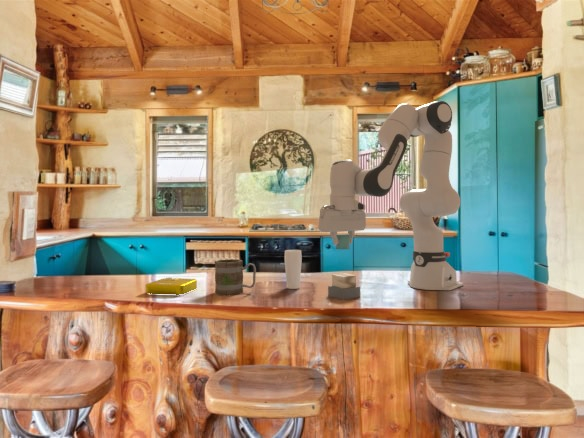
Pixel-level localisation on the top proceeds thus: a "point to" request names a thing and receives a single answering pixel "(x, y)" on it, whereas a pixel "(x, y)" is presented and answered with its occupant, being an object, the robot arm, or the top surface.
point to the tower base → (343, 292)
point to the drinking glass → (293, 268)
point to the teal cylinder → (343, 241)
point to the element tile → (171, 286)
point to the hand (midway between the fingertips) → (342, 244)
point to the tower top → (344, 280)
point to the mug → (231, 277)
